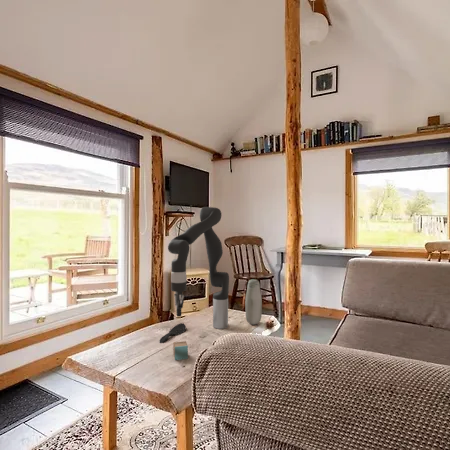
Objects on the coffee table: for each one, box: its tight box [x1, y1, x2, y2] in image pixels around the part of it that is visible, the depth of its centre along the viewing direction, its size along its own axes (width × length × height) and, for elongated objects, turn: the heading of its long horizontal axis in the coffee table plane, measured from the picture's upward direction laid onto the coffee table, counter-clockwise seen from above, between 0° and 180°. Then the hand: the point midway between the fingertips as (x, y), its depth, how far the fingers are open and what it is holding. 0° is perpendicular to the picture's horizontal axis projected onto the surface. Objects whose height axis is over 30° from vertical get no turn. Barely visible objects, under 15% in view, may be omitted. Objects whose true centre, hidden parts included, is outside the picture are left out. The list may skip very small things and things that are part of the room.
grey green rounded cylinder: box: [244, 278, 263, 326], centre depth 199 cm, size 10×10×28 cm
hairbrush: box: [159, 322, 187, 344], centre depth 179 cm, size 8×4×25 cm
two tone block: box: [172, 340, 189, 361], centre depth 150 cm, size 6×6×6 cm
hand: (178, 315), depth 155 cm, fingers closed
